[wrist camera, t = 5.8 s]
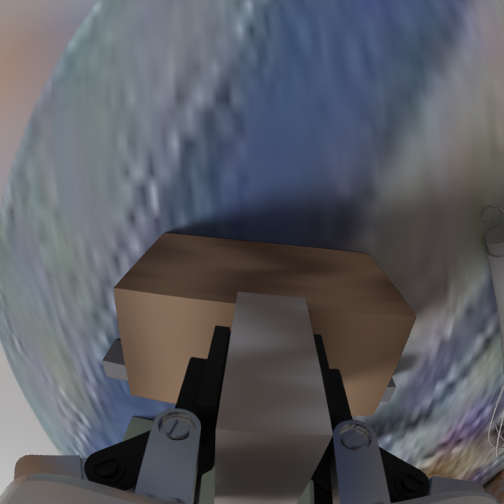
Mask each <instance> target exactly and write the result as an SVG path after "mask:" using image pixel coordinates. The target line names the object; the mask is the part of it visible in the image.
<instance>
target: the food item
mask: <svg viewBox="0 0 504 504" xmlns="http://www.w3.org/2000/svg"><path fill="white" fill-rule="evenodd" d="M483 488H484V490H485V493H487V494H490V495H492V496H494V497H495V498H496V499H498V501H499V502H500V503H501V504H504V470H503V471H502V472H500V473H499V474H498V475H497V476H496V477H494V478H493V479H492V480H491V481H490V482H489V483H487V484H486V485H485V486H484V487H483Z"/></svg>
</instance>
